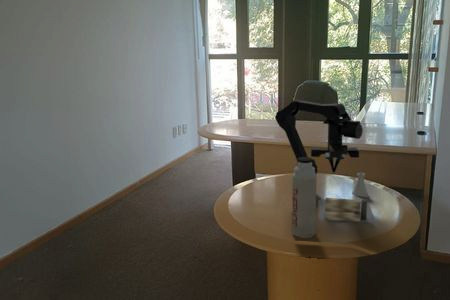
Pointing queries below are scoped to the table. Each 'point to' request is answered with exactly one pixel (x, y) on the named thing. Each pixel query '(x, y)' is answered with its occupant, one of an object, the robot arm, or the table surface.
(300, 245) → the table surface
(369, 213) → the slate board
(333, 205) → the beige flat block
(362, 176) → the flask
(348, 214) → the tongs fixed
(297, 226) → the thermos bottle
